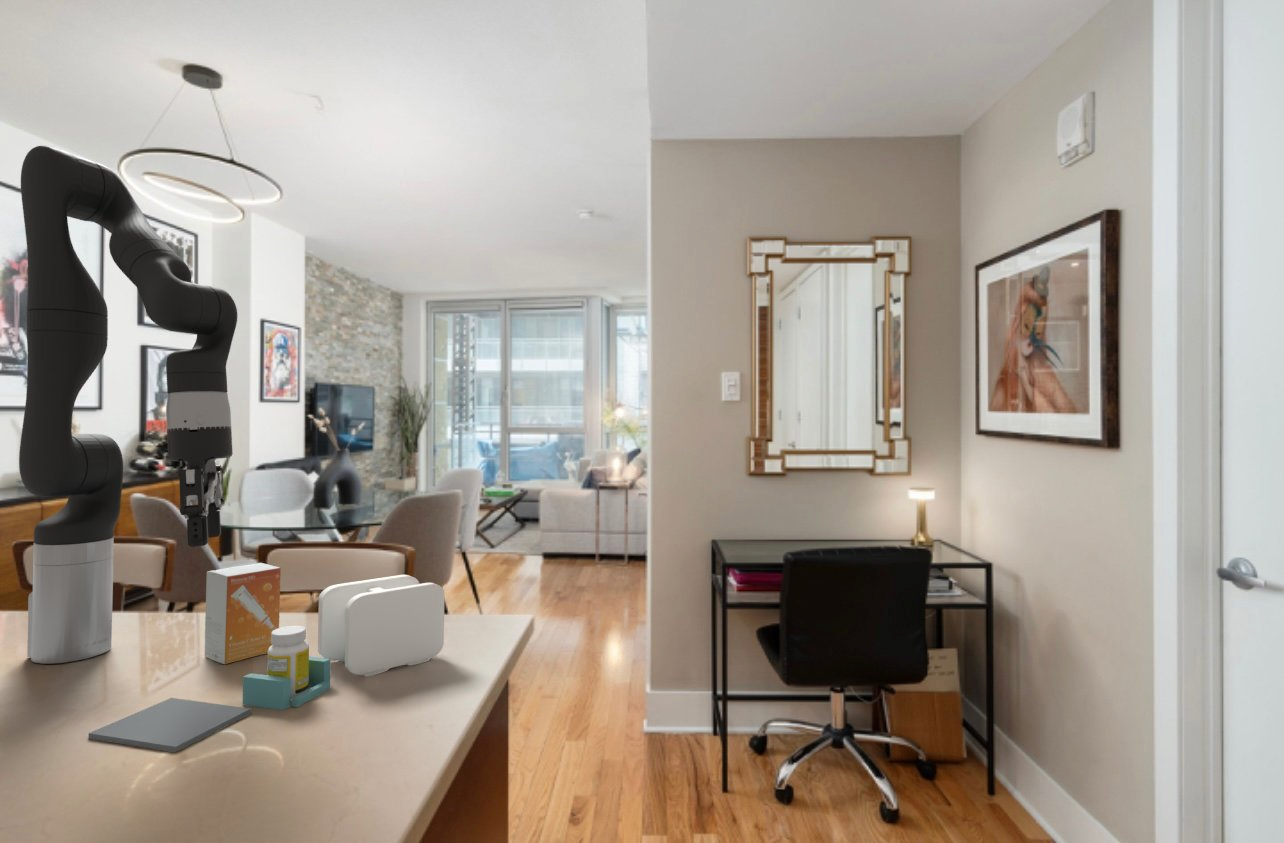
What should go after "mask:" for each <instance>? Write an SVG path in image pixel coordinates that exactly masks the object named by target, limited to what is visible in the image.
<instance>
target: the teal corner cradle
mask: <svg viewBox="0 0 1284 843" xmlns="http://www.w3.org/2000/svg"><path fill="white" fill-rule="evenodd" d="M309 687H310V688H308V690H307V691H305V692H303V693H301V694H299V695H297V696H295V697H293V698H292V700H290V693H291V678H285V677H277V676H269V675H268V674H267V675H266V674H260V673H251V672H250V673H248V674H246V675H244V676H242V705H243V706H249V707H257V708H264V709H265V708H266V709H271V710H281V711H285V710H286V709H288V708H290V707H295V708H298V707H300V706H302V705H304V704H306V703H307V702H309V701H311V700H312V699H315V698H316V697H318V696H320V695H321V694H323V693H325V692H328V690H331V661H330V659H328V658H324V657H318V656H310V655H309Z"/></svg>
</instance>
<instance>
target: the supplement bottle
mask: <svg viewBox="0 0 1284 843" xmlns="http://www.w3.org/2000/svg"><path fill="white" fill-rule="evenodd" d="M306 631H307V630H306V627H305V626H303V625H286V626H282V627H279V628H278V629H275V630H273V631H272V633H271V644H273V645H272V646H270V648H269V649H268V653H267V675H269V676H277V677H285V678H291V693H290V701H292V698H293V697H295V696H297V695H299V694H301V693H303V692H305V691H307V690H309V689H310V688H309V687H310V686H309V656H310V654H309V653H310V645H309V643H308V642H307V641H306V639H307V635H306V634H307V632H306Z"/></svg>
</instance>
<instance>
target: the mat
mask: <svg viewBox="0 0 1284 843" xmlns="http://www.w3.org/2000/svg"><path fill="white" fill-rule="evenodd" d="M251 714H252V708H251V707H250V708H249V707H243V706H237V705H236V706H234V705H229V704H220V703H212V702H205V701H199V700H190V699H183V698H177V697H169V698H168V699H166V700H162V701H160V702H158V703H156V704H153V705H151V706H149V707H147V708H144V709H143V710H142V709H141V710H139V711H138V712H135V713H132V714H129V715H128V716H126V717H123V718H121V719H118V720H116V721H114V722H112V723H109V724H107V725H105V726H104V725H103V727H100V728H97V729H95V730H93V731H90V732H88V739H89V740H95V741H100V742H102V741H103V742H109V743H115V744H119V745H120V744H121V745H127V746H132V747H133V746H134V747H139V748H144V749H145V748H146V749H152V750H158V751H165V752H170V753H171V752H172V753H177V752H180V751H181V750H183V749H185V748H187V747H188V746H191V745H193V744H195V743H196V742H199V741H200V740H202V739H204V738H206V737H208V736H210V735H213V734H214V733H215V732H218V731H220V730H222V729H223V727H224V726H226V727H227V725H228V726H229V725H231V724H233V723H235V722H237V721H239V720H241V719H243V718H245V717H247V716H249V715H251ZM221 728H222V729H221ZM224 728H225V727H224ZM217 730H218V731H217Z"/></svg>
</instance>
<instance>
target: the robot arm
mask: <svg viewBox="0 0 1284 843" xmlns="http://www.w3.org/2000/svg"><path fill="white" fill-rule="evenodd" d="M20 171H21V172H20V192H21V205H22V214H23V222H24V231H25V238H26V249H27V250H26V251H27V253H26V254H27V255H26V256H27V300H26V348H27V366H26V367H27V369H26V370H27V371H26V372H27V374H26V394H25V395H26V397H25V405H24V406H25V407H24V414H23V420H22V421H23V422H22V428H21V435H20V436H21V437H20V444H19V452H18V453H19V454H18V465H19V466H18V468H19V474H20V478H21V482H22V484H23V486H24V487H25V489H26V490H27V492H29V493H30V494H31V495H34V496H36V497H39V498H55V497H67V496H68V498H67V501H66V503H65V505H64V506H63V507H62V508H61V509H60V510H58V511H57V512H56V513H55V514H53V515H51V516H49V517H47V518H45V519H42V520H41V521H39V522H38V523H36V524H35V526H34V529H33V550H32V552H33V554H32V555H33V556H32V559H33V560H32V562H33V563H32V564H33V566H32V569H33V570H32V592H29V594H28V599H27V600H28V604H27V605H28V610H27V613H28V614H27V648H26V649H27V655H26V656H27V658H30V661H31V662H32V663H35V664H41V665H42V664H45V665H46V664H62V663H69V662H76V661H80V660H81V661H82V660H85V659H89V658H92V657H96V656H99V655H103V654H104V653H106V652H108V651H110V650H111V649H112V635H113V634H112V633H113V630H112V629H113V626H112V625H113V594H114V591H113V587H114V533H115V532H114V531H115V526H116V524H117V522H118V520H119V517H120V513H121V502H122V491H123V480H124V459H123V454H122V451H121V448H120V447H119V444H118V443H117V442H116V440H114V439H113V438H112V437H110V436H108V435H105V434H100V433H99V434H98V433H73V432H72V429H73V428H72V427H73V426H72V424H73V415H74V414H73V413H74V408H75V403H76V401H77V398H78V395H79V393H80V392H81V390H82V388H84V386H85V384H86V383H87V381H88V380H89V379H90V377H91V376H92V374H93V373H94V372H95V370H96V369H97V367H98V366H99V364H100V363H101V362H102V359H103V358H104V356H105V354H106V351H107V348H108V339H109V338H108V334H109V333H108V332H109V331H108V329H109V328H108V327H109V325H108V322H109V321H108V320H109V319H108V312H109V311H108V306H107V303H106V299H105V298H104V296H103V294H102V292H101V291H100V289H99V287H98V286H97V284H96V283H95V281H94V279H93V277H92V276H91V274H90V273H89V272H88V270H87V269H86V267H85V266H84V265H83V263H82V261H81V259H80V258H79V256H78V254H77V253H76V251H75V248H74V245H73V243H72V240H71V235H70V230H69V222H68V220H69V219H68V217H69V218H72V219H76V220H79V221H84V222H91V223H95V224H97V225H99V226H100V227H101V228H103V229H105V230H106V231H107V232H108V233H110V238H109V244H108V246H109V247H108V248H109V253H110V255H111V258H112V261H113V262H114V264H115V265H116V267H118V268H119V271H121V272H122V273H123V274H124V275H125V277H127V279H128V280H129V281H130V282H131V283H132V285H134V286H135V287H136V289H137V291H138V294H139V296H140V299H141V302H142V304H143V306H144V310H145V311H146V312H145V313H146V315H147V316H148V318H149V320H151V321H152V322H153V323H154V324H156V325H157V326H159V327H160V328H162V329H164V330H167V331H169V332H174V333H175V332H177V333H184V334H185V333H186V334H193V335H196V339H195V342H194V344H193V346H192V348H190V349H182V350H177V351H173V352H171V353H169V354H168V356H167V358H166V361H165V362H166V364H165V369H166V370H165V371H166V372H165V373H166V391H167V392H166V393H167V396H166V397H167V399H166V408H165V418H166V440H167V456H168V459H169V461H172V462H186V469H184V468H183V469H179V470H178V477H179V481H178V482H179V507H180V508H179V513H180V515H181V516H183V517H184V519H185V520H186V532H187V533H186V534H187V545H188V547H191V548H193V547H195V548H197V547H204V546H206V545H208V543H209V538H218V537H220V536H221V534H222V526H221V510H222V508H223V505H224V502H225V498H224V488H223V487H224V486H223V467H222V465H221V464H216V460H218V459H228V458H229V459H230V458H231V457H232V456H233V453H234V452H233V437H232V417H231V414H232V413H231V412H232V411H231V406H230V401H229V396H228V378H227V376H228V375H227V364H228V359H229V356H230V351H231V346H232V344H233V343H232V342H233V339H234V335H235V330H236V328H237V324H238V309H237V305H236V302H235V300H234V299H233V297H232V296H231V295H230V294H229V292H227V291H226V290H224V289H222V288H221V287H216V286H212V285H211V286H210V285H206V284H200V283H194V282H192V272H191V270H190V268H189V266H188V265H187V263H186V262H185V261H184V260H183V259H182V258H181V257H180V255H179V254H177V252H176V251H174V249H173V248H172V247H170V245H168V244H167V243H166V241H164V240H163V238H162V237H160V235H159V234H158V233H157V232H156V230H155V229H153V227H152V225H151V224H150V222H149V221H148V220H147V218H146V216H145V215H144V213H143V211H142V209H141V208H140V207H139V205H138V203H137V202H136V200H135V199H134V197H133V196H132V194H131V192H130V190H129V189H128V187H127V186H126V185H125V183H124V182H123V180H122V179H121V177H120V176H118V174H117V173H116V172H114V171H113V170H112V169H111V168H110V167H108V166H105V165H104V164H102V163H99V162H96V161H94V160H90V159H87V158H85V157H82V156H79V155H75V154H74V153H70V152H68V151H65V150H62V149H59V148H55V147H53V146H48V145H37V146H34V147H33V148H31V149H30V150H29V151H28V152H27V153H26V155H25V156H24V159H23V163H22V165H21V170H20Z"/></svg>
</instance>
